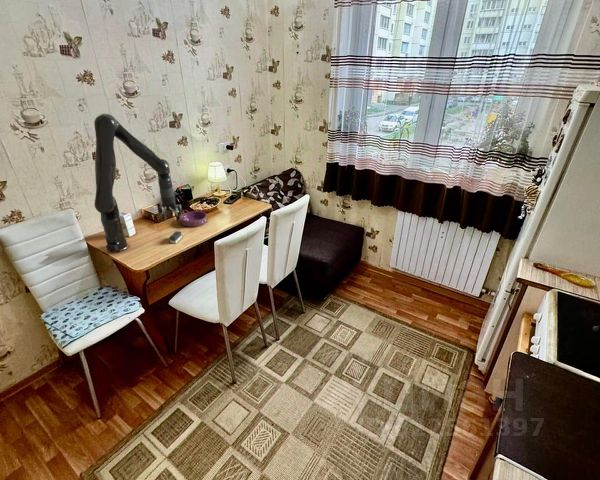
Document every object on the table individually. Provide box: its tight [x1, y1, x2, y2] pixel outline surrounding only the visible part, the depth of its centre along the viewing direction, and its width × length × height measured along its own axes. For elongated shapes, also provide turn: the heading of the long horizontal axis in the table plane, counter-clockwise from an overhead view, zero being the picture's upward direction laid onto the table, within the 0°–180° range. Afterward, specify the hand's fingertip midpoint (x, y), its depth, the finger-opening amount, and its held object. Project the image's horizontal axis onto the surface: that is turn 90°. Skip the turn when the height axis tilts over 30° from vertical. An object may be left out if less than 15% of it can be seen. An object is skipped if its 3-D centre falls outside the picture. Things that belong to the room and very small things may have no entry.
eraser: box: [169, 230, 183, 244], centre depth 190 cm, size 8×4×4 cm, turn 173°
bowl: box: [180, 210, 208, 227], centre depth 214 cm, size 17×17×4 cm
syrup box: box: [119, 211, 137, 238], centre depth 193 cm, size 6×6×14 cm
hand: (172, 220), depth 184 cm, fingers open, 8 cm apart
